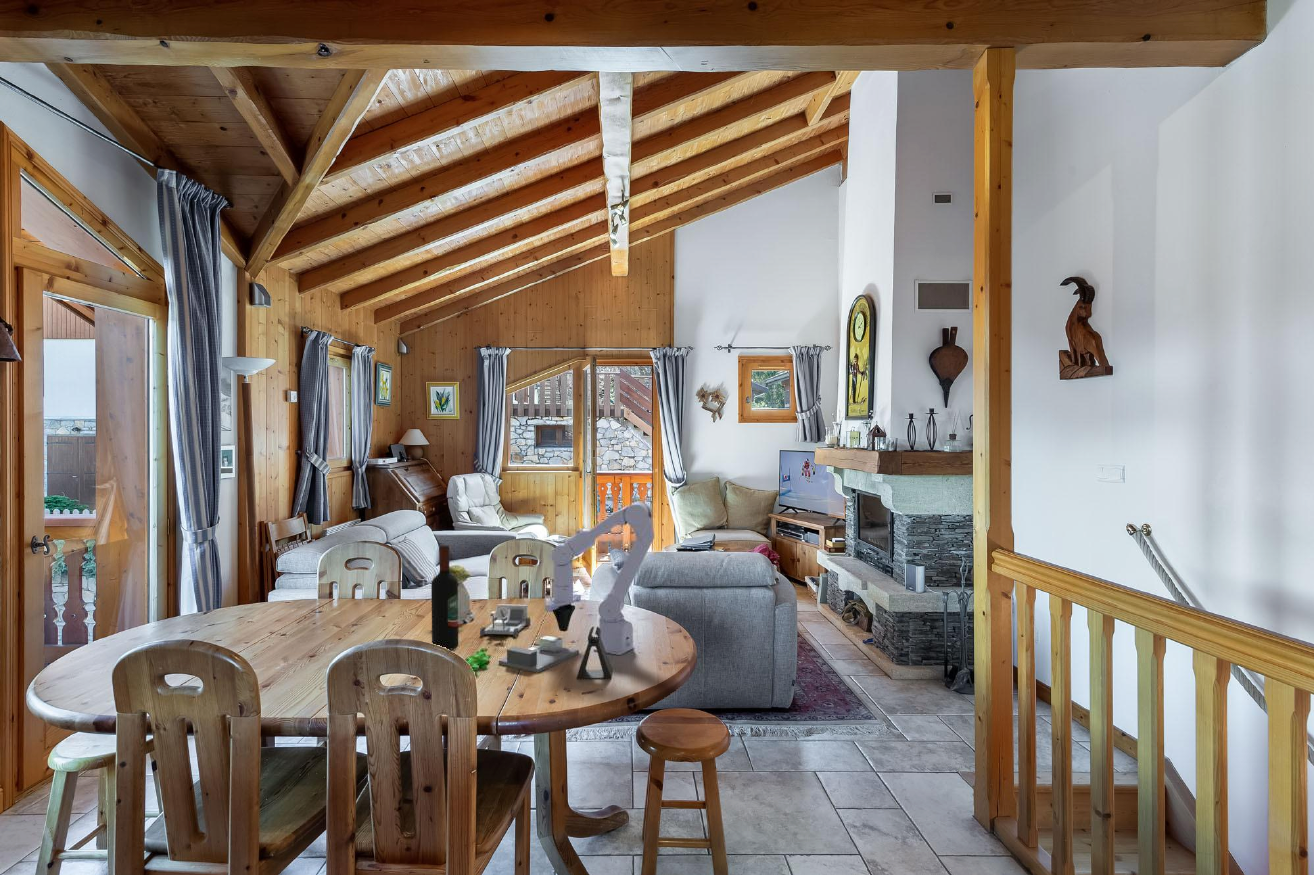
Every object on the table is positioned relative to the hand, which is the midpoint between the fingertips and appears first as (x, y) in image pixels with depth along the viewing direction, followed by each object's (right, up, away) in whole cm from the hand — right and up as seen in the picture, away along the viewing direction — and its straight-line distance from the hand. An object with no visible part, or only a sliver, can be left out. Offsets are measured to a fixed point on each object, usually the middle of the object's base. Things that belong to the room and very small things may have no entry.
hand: (563, 630), depth 205 cm
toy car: (-21, -6, +17) cm, 28 cm away
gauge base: (-5, -5, -9) cm, 12 cm away
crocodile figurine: (-22, -6, -18) cm, 29 cm away
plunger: (-4, -4, -4) cm, 7 cm away
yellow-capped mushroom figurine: (-41, -5, +31) cm, 52 cm away
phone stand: (+11, -6, -23) cm, 26 cm away
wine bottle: (-36, -6, +2) cm, 36 cm away
